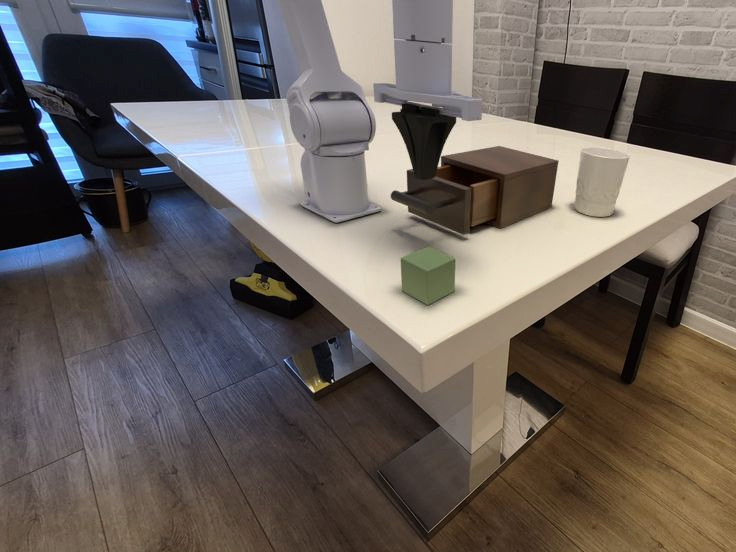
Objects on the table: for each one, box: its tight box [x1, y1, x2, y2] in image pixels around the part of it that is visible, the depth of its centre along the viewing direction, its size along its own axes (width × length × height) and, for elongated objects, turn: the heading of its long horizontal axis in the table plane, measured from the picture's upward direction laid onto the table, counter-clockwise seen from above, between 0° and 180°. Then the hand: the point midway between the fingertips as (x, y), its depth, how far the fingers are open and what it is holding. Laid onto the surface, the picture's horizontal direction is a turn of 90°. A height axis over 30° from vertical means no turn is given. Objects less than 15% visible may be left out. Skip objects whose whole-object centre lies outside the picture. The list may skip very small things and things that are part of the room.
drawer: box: [390, 164, 500, 235], centre depth 59 cm, size 18×11×6 cm, turn 142°
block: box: [400, 246, 456, 306], centre depth 42 cm, size 4×4×4 cm
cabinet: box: [440, 145, 559, 229], centre depth 66 cm, size 15×13×8 cm
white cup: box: [574, 146, 631, 218], centre depth 68 cm, size 8×8×10 cm
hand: (425, 177), depth 47 cm, fingers closed
